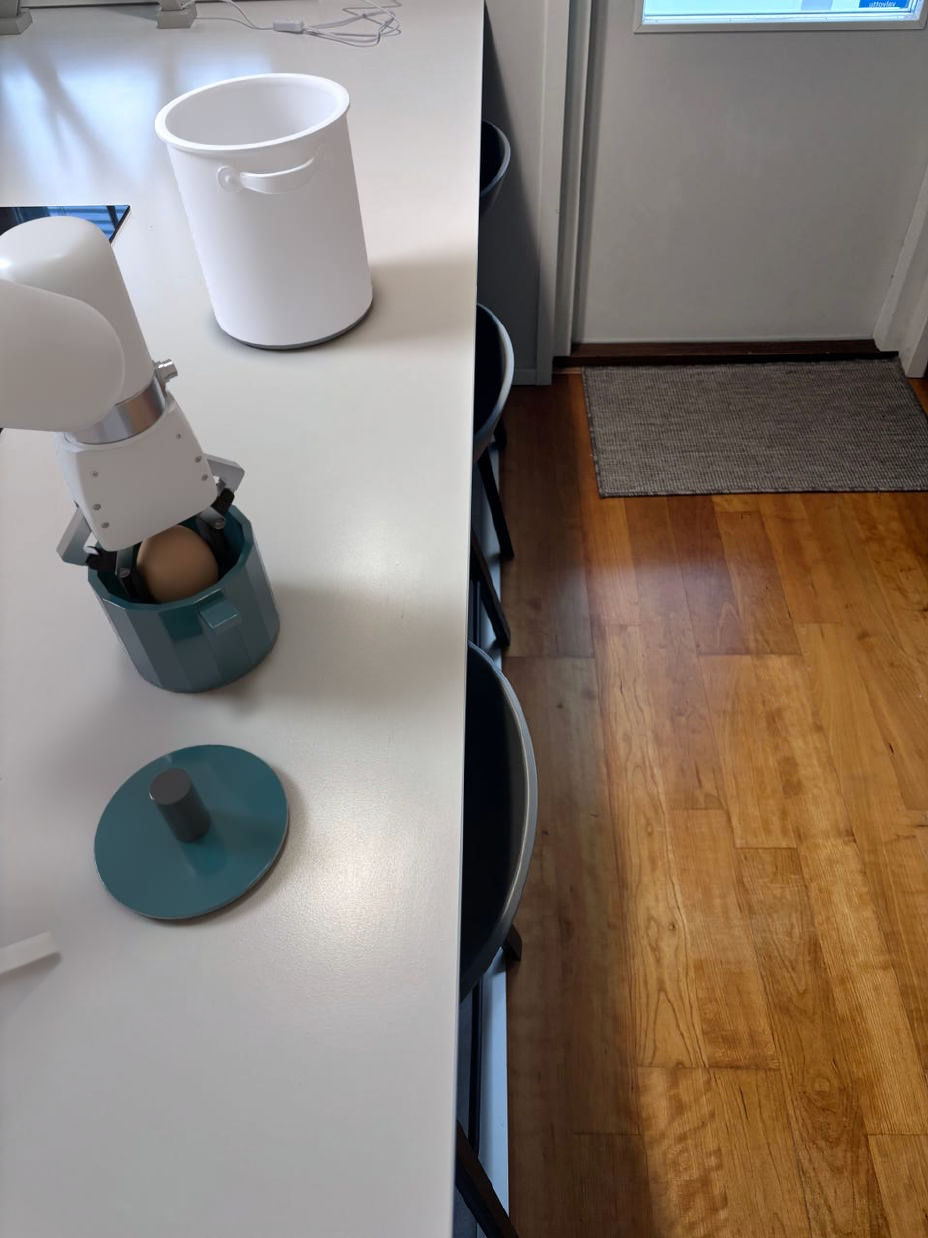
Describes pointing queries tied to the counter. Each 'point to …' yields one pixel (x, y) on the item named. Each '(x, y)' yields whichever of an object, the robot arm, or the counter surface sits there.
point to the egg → (176, 565)
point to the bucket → (272, 205)
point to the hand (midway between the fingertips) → (180, 576)
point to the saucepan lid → (191, 831)
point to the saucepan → (198, 619)
